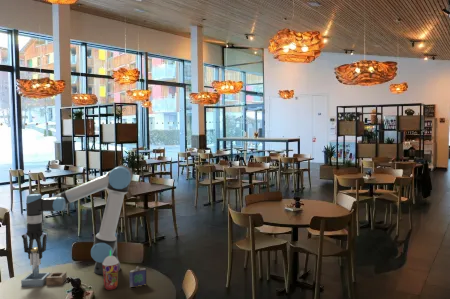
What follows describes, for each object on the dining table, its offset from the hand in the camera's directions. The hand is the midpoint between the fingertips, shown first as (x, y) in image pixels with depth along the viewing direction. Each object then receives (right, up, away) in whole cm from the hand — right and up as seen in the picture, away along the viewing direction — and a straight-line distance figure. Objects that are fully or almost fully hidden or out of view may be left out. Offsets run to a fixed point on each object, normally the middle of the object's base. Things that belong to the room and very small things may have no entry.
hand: (35, 264), depth 212 cm
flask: (+58, -10, -5) cm, 59 cm away
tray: (0, -10, 0) cm, 10 cm away
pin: (0, -6, 0) cm, 6 cm away
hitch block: (+11, -10, +1) cm, 15 cm away
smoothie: (+44, -10, -7) cm, 46 cm away
